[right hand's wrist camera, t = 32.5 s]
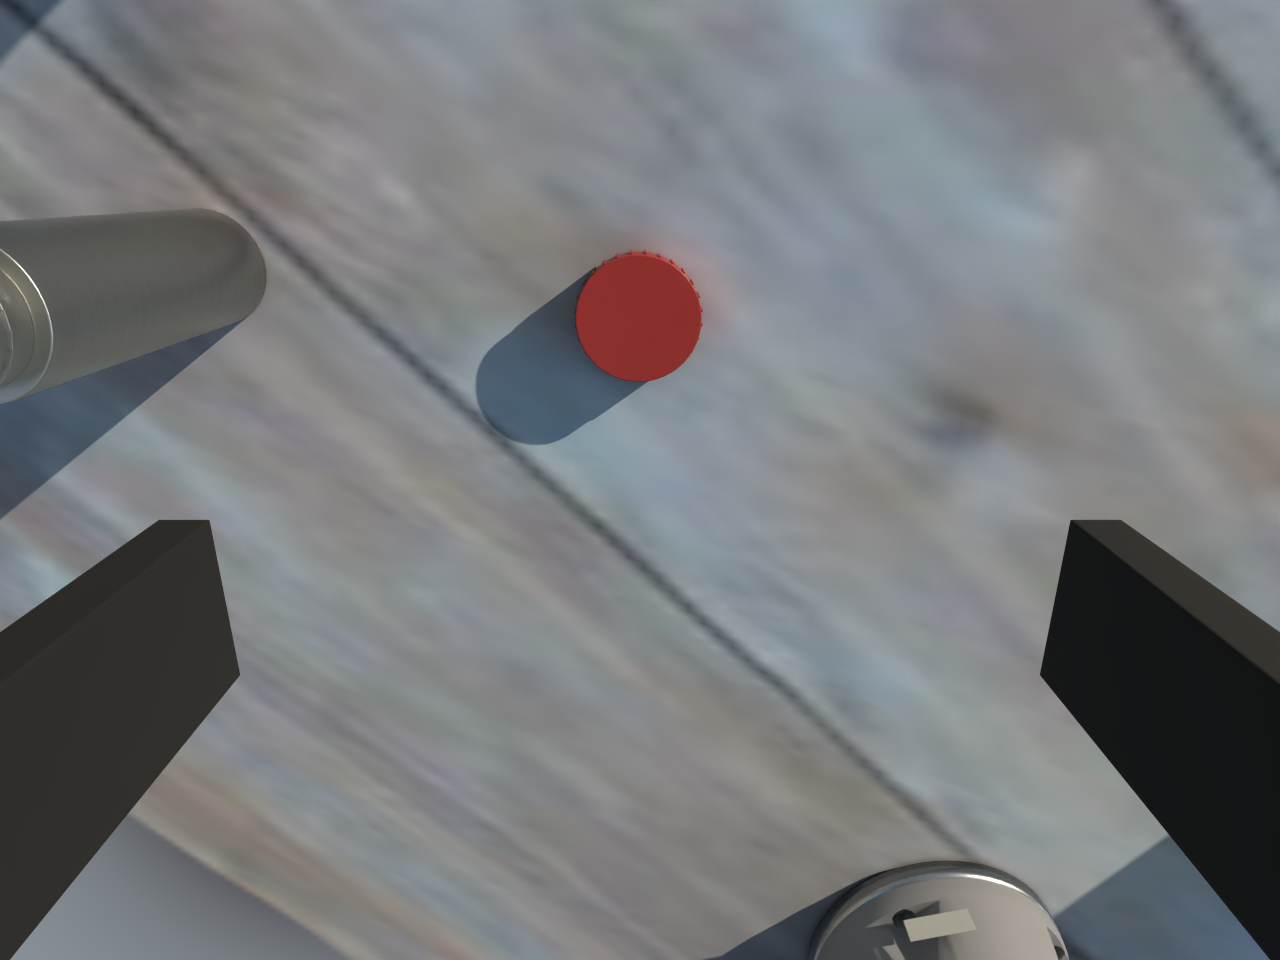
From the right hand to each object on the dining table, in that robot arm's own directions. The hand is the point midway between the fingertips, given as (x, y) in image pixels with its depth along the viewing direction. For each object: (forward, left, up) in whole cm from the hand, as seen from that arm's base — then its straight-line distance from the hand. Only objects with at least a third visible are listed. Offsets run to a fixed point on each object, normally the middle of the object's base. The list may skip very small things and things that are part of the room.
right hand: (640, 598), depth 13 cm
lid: (0, 0, -25) cm, 25 cm away
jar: (-3, +19, -26) cm, 33 cm away
